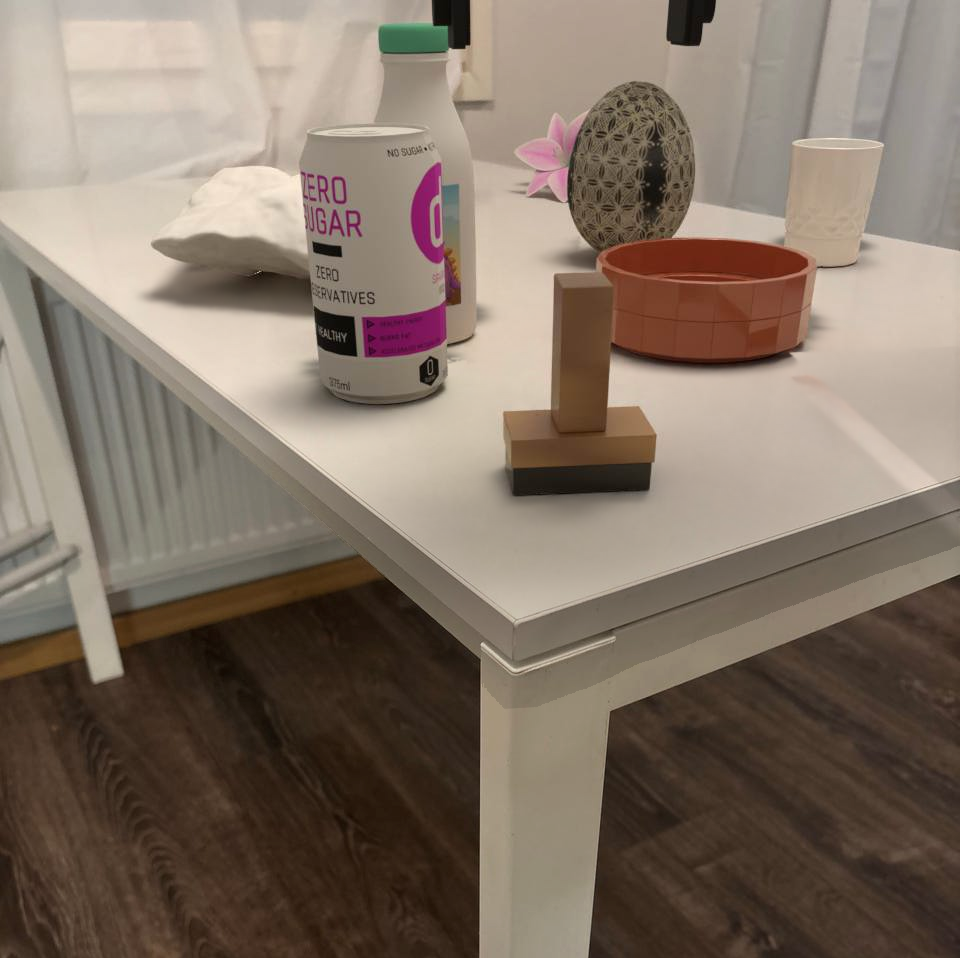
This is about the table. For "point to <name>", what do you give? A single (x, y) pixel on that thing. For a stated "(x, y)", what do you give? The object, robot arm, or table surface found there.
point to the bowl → (708, 298)
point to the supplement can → (376, 259)
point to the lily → (551, 156)
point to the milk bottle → (427, 102)
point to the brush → (579, 407)
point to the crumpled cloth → (242, 224)
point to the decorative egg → (631, 168)
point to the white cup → (830, 197)
